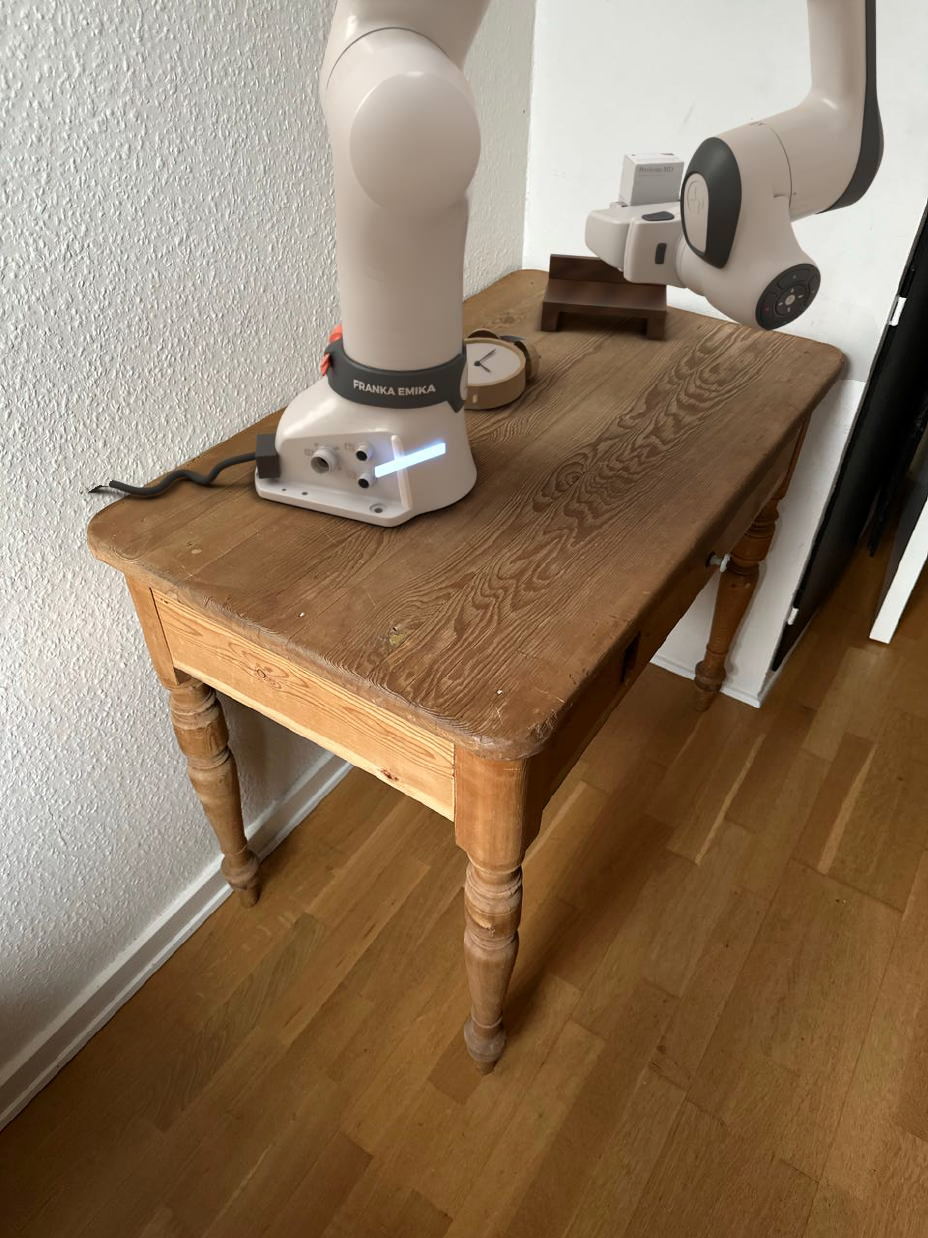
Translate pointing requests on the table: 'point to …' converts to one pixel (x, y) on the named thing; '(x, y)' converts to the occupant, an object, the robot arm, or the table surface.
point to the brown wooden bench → (600, 293)
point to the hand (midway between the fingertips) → (642, 205)
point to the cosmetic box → (650, 179)
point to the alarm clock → (497, 368)
